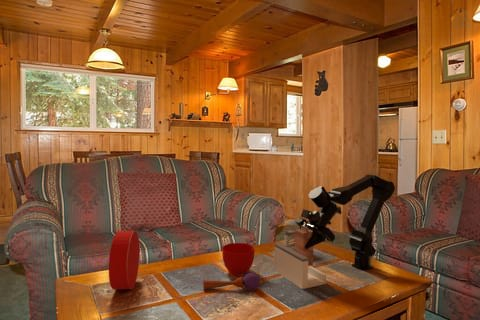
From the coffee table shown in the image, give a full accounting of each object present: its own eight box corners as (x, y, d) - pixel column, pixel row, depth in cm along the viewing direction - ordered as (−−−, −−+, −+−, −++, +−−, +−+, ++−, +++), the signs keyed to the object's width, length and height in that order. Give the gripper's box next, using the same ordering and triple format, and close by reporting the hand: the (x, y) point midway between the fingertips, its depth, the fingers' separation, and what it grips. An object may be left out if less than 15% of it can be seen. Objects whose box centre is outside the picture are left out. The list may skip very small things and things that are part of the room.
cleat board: (296, 266, 143) (297, 240, 143) (325, 283, 126) (326, 254, 126) (274, 270, 139) (274, 243, 138) (301, 289, 122) (302, 259, 121)
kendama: (204, 274, 124) (258, 270, 124) (205, 291, 123) (259, 287, 123) (202, 278, 118) (259, 274, 118) (203, 296, 117) (260, 291, 117)
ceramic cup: (252, 262, 147) (252, 240, 146) (255, 279, 130) (255, 253, 129) (222, 262, 146) (222, 239, 146) (221, 278, 129) (221, 253, 129)
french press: (281, 247, 168) (283, 197, 167) (305, 248, 167) (306, 198, 165) (282, 253, 158) (283, 201, 157) (307, 255, 157) (308, 201, 156)
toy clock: (124, 275, 131) (123, 224, 130) (139, 275, 132) (139, 224, 130) (108, 300, 111) (108, 240, 110) (127, 299, 112) (126, 240, 110)
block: (305, 260, 133) (306, 224, 132) (313, 265, 129) (314, 227, 128) (294, 262, 131) (295, 225, 130) (302, 267, 127) (303, 228, 126)
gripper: (299, 197, 138) (275, 227, 134) (329, 206, 122) (304, 240, 118) (314, 215, 142) (291, 244, 138) (346, 225, 126) (321, 259, 122)
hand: (301, 246), depth 129 cm, fingers closed on block, 5 cm apart
